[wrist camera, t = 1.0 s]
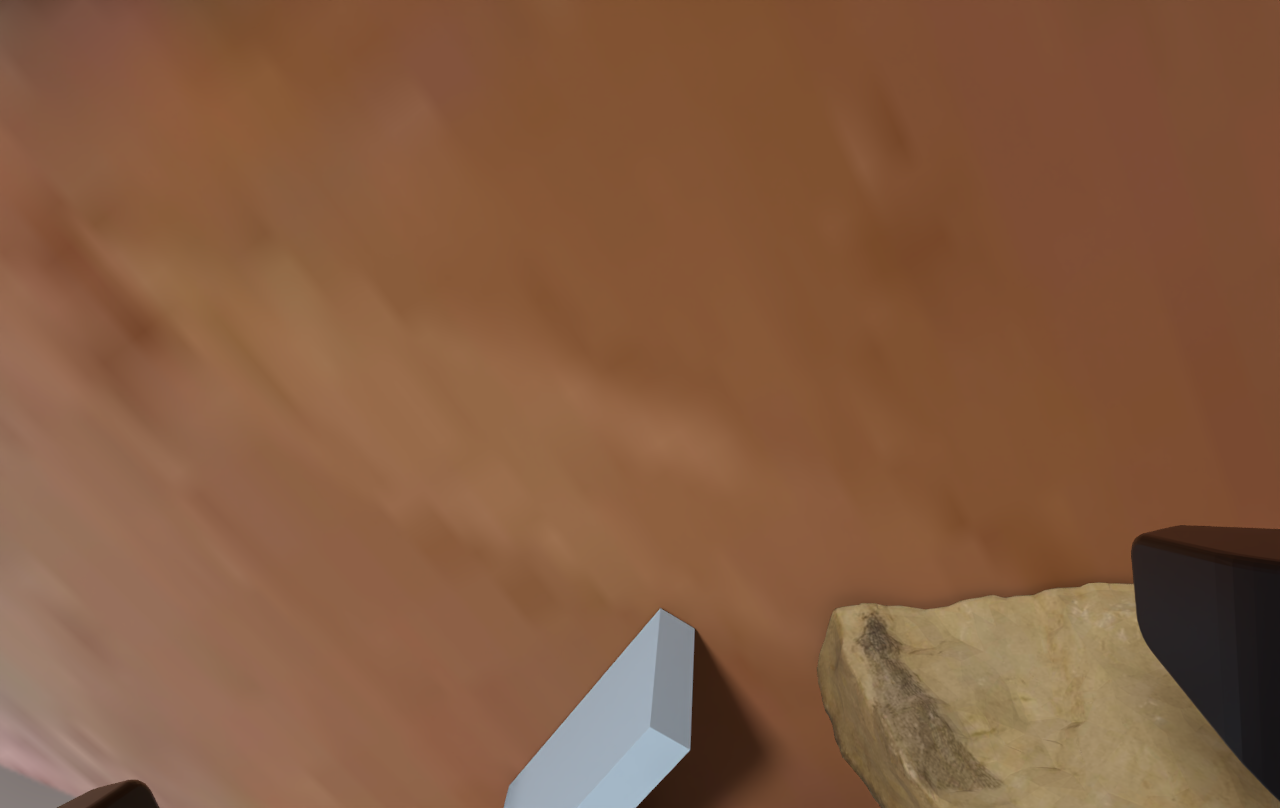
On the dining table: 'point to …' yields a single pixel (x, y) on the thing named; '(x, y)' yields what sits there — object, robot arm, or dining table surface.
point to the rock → (1021, 708)
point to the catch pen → (619, 728)
